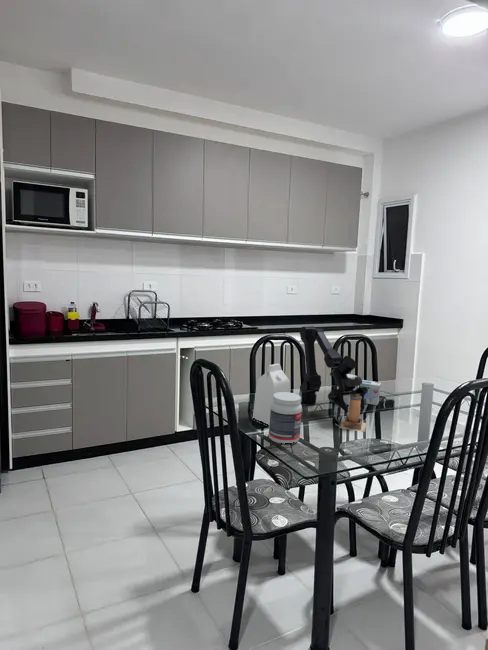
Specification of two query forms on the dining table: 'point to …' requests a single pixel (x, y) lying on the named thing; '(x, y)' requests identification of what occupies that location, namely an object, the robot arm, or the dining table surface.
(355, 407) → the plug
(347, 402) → the skincare box
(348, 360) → the robot arm
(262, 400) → the milk
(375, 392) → the light bulb box
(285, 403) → the supplement tub
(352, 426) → the square wooden holder
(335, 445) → the dining table surface
